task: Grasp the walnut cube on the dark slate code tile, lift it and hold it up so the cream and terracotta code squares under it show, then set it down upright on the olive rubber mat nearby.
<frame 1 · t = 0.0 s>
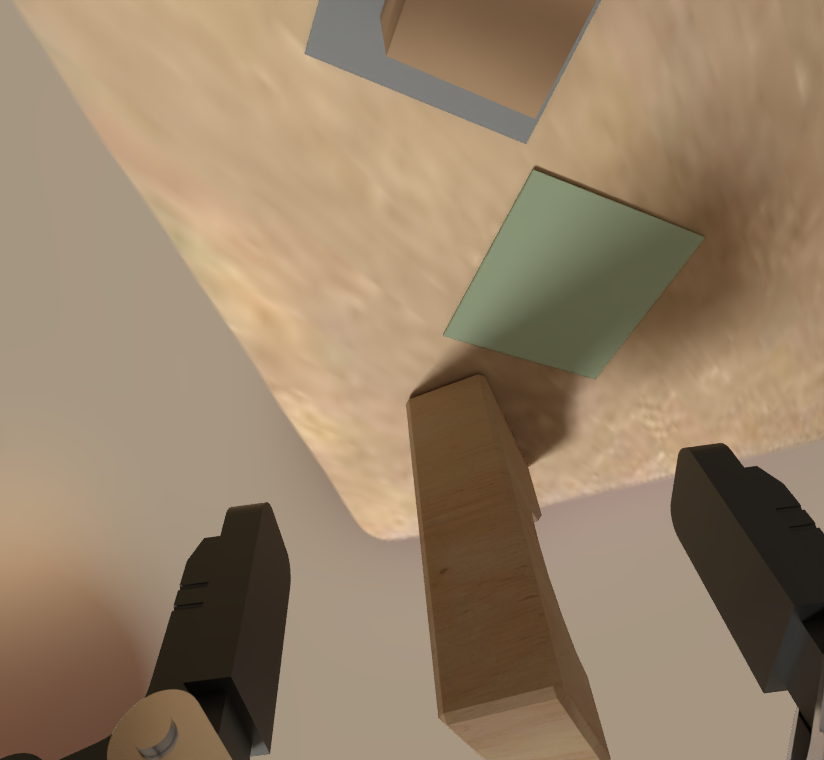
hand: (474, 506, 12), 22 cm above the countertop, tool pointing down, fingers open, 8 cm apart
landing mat: (567, 287, 36), on the countertop
decorative block: (469, 433, 44), on the countertop
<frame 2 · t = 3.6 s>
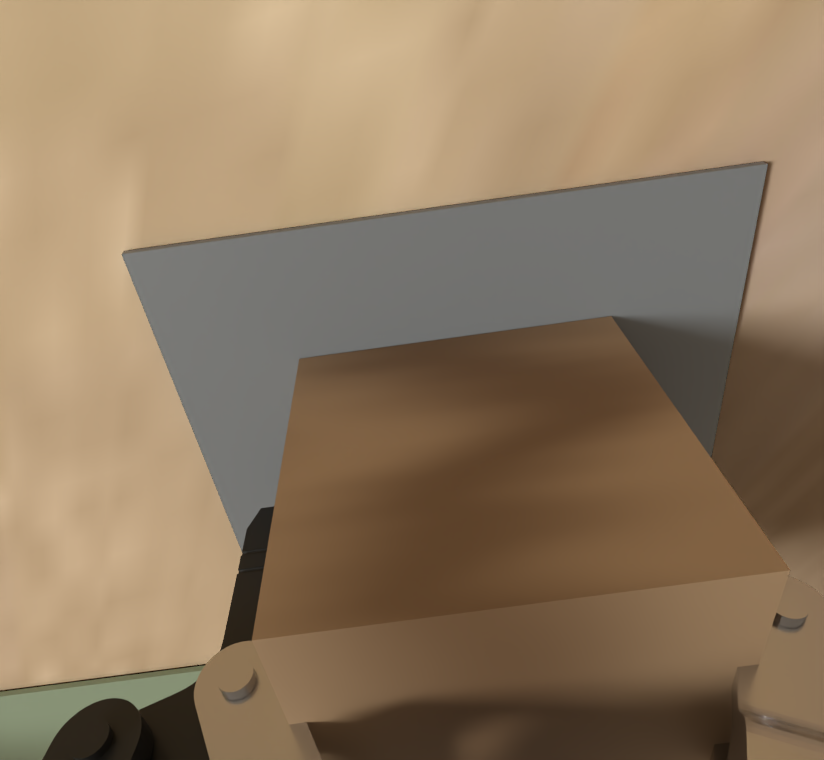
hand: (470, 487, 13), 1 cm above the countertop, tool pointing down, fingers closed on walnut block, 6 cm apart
code tile: (464, 451, 14), on the countertop
walnut block: (465, 456, 14), resting on code tile, touching gripper
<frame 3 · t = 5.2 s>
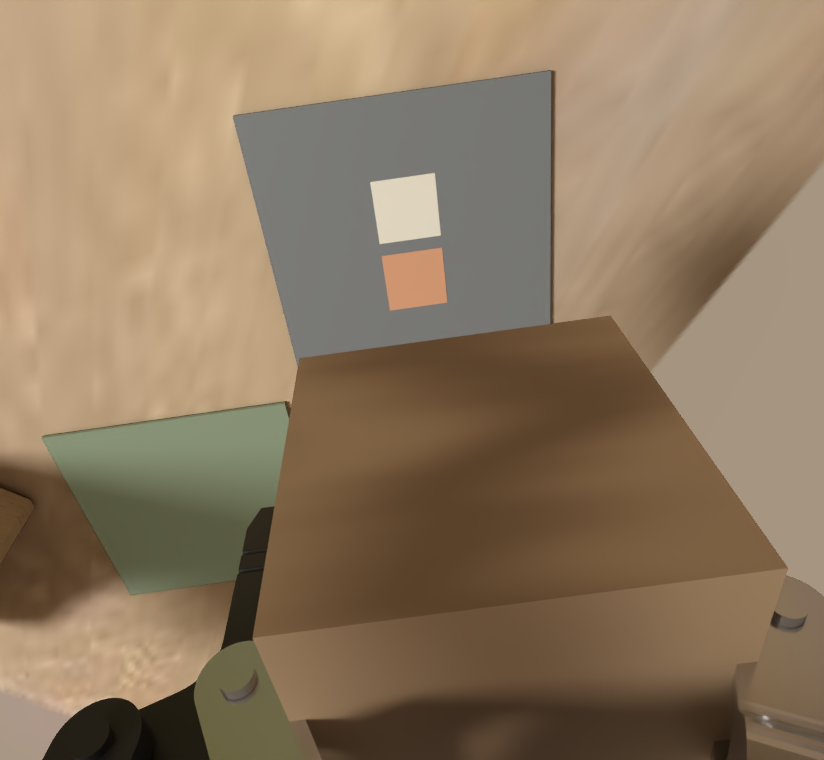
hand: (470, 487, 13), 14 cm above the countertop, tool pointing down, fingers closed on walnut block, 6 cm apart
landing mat: (200, 506, 31), on the countertop
code tile: (410, 244, 24), on the countertop
walnut block: (465, 455, 14), point 13 cm above the countertop, touching gripper
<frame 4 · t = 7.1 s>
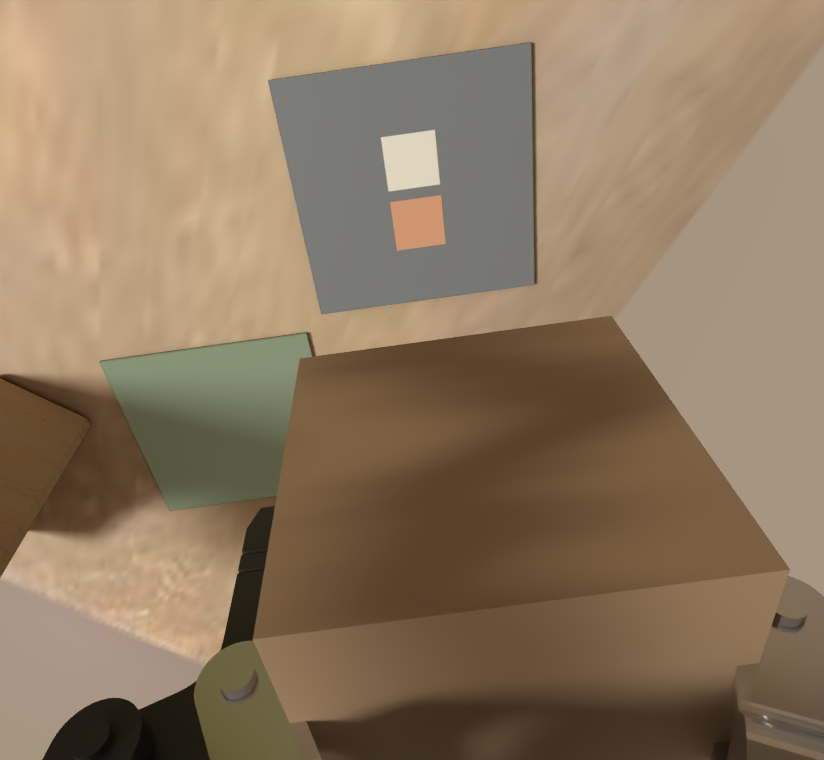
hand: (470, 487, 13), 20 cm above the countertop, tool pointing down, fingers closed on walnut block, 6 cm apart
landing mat: (232, 428, 36), on the countertop
code tile: (414, 192, 29), on the countertop
decorative block: (12, 456, 36), on the countertop
walnut block: (466, 456, 14), point 19 cm above the countertop, touching gripper
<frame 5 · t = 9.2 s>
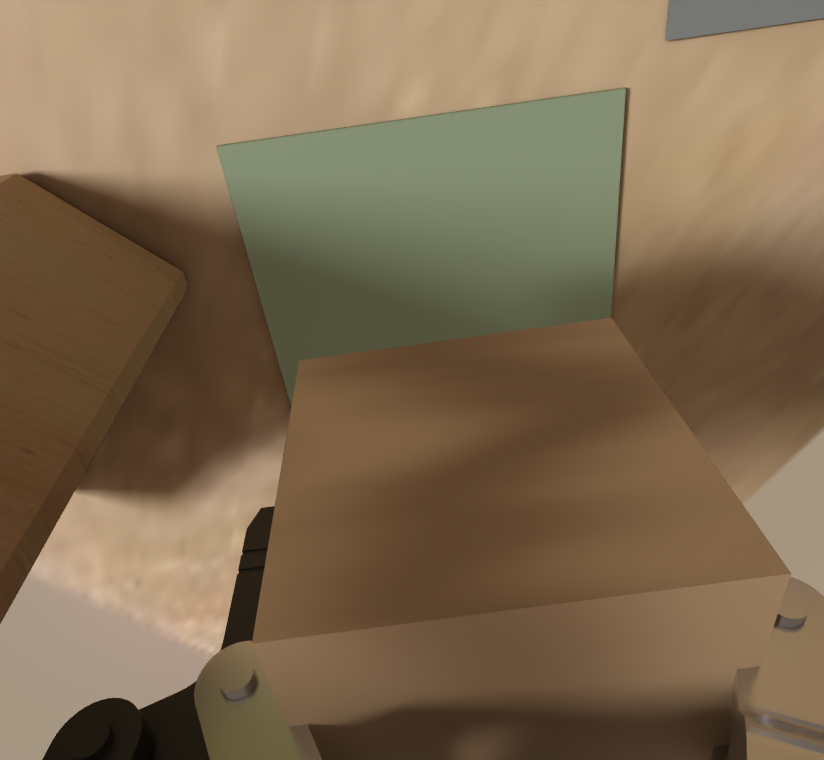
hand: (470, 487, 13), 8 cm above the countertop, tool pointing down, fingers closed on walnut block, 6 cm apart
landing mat: (439, 299, 20), on the countertop
decorative block: (41, 350, 20), on the countertop
walnut block: (466, 457, 14), point 8 cm above the countertop, touching gripper
when the fingers open (2 cm above the countertop, at t = 10.8 s): walnut block drops 1 cm, resting on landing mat.
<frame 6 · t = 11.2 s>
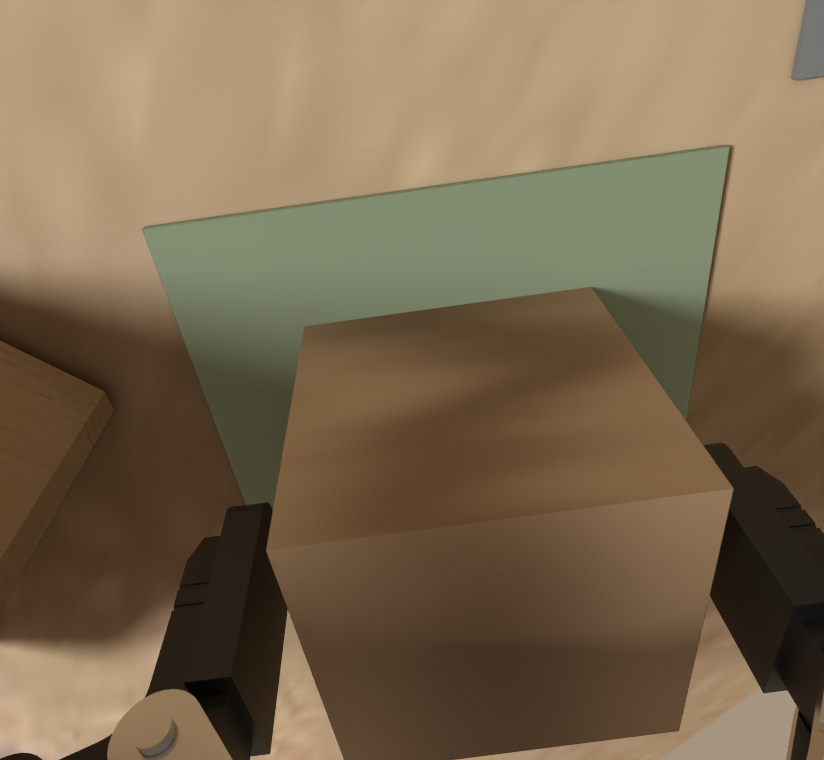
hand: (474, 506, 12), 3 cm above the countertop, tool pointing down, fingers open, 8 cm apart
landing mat: (456, 417, 15), on the countertop
walnut block: (458, 420, 15), resting on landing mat
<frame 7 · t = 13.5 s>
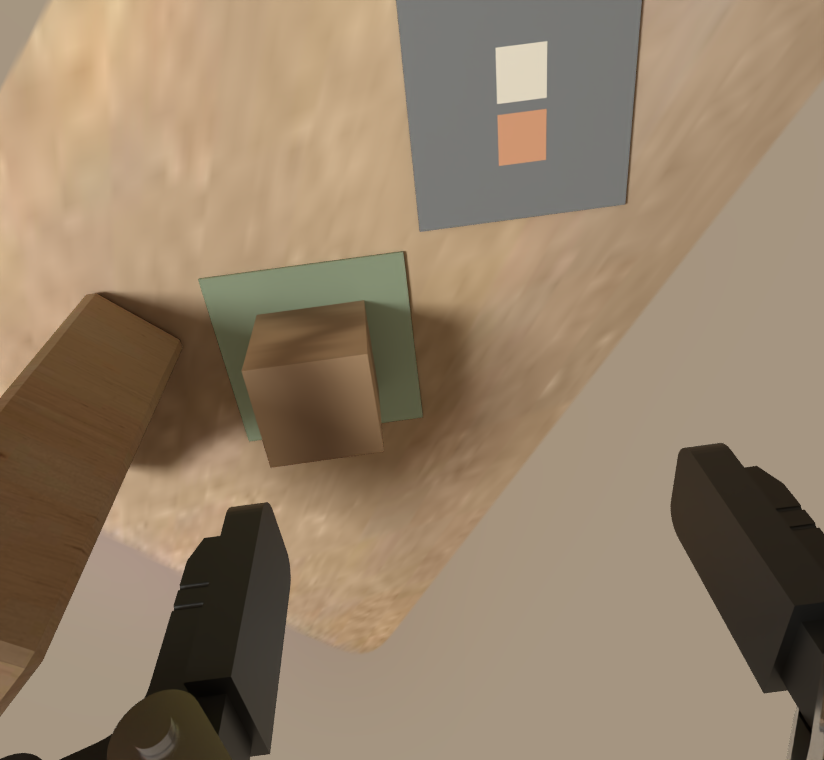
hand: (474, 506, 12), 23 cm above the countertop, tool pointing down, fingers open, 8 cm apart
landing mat: (320, 353, 36), on the countertop
code tile: (521, 105, 30), on the countertop
decorative block: (98, 381, 36), on the countertop
walnut block: (320, 353, 36), resting on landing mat
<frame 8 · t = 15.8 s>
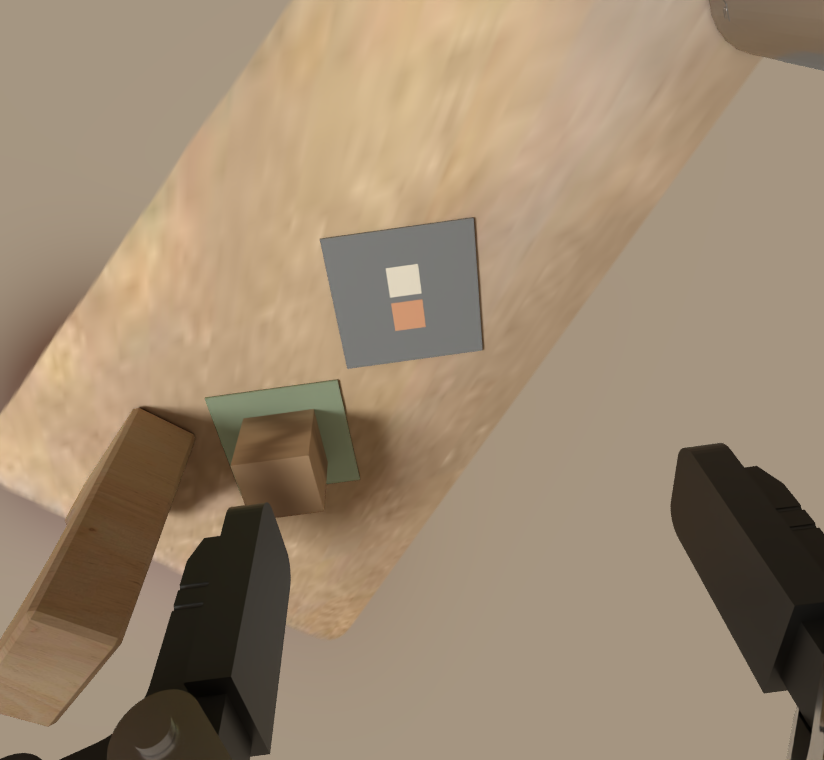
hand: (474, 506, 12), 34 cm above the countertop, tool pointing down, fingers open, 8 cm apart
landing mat: (286, 440, 54), on the countertop
code tile: (406, 297, 47), on the countertop
decorative block: (140, 458, 55), on the countertop
walnut block: (286, 441, 54), resting on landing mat
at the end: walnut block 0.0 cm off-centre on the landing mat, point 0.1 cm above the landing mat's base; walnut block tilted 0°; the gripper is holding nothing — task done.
